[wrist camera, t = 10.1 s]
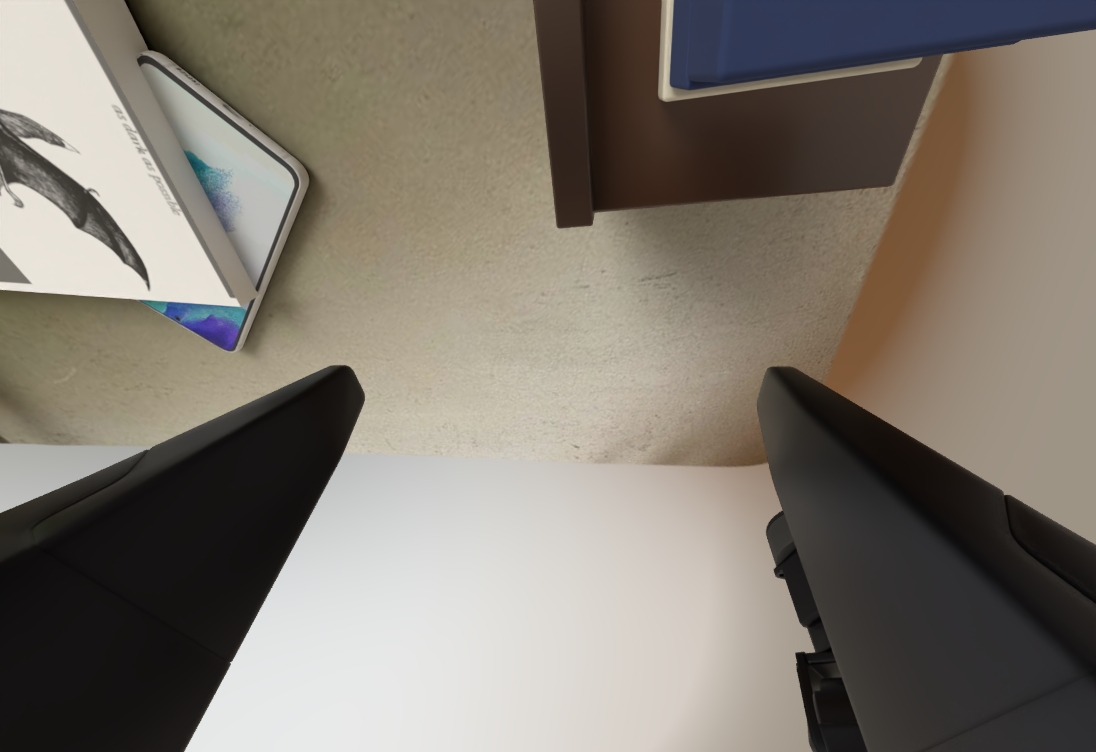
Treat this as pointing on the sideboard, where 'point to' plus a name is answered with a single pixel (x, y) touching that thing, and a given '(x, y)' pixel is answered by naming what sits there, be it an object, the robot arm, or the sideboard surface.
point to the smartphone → (228, 192)
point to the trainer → (836, 37)
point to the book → (98, 167)
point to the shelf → (702, 122)
